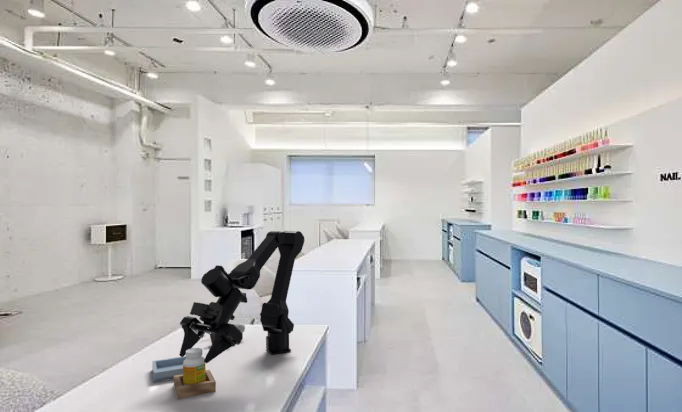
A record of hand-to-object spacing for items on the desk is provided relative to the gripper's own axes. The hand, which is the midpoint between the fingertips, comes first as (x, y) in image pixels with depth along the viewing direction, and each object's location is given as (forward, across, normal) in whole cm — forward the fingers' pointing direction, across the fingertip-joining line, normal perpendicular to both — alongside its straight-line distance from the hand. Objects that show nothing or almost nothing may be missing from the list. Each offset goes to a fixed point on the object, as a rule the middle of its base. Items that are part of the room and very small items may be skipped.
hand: (192, 359), depth 107 cm
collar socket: (+5, 0, +6) cm, 8 cm away
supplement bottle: (+5, 0, +6) cm, 8 cm away
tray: (+1, -13, +9) cm, 16 cm away
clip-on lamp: (-17, -26, +28) cm, 42 cm away
